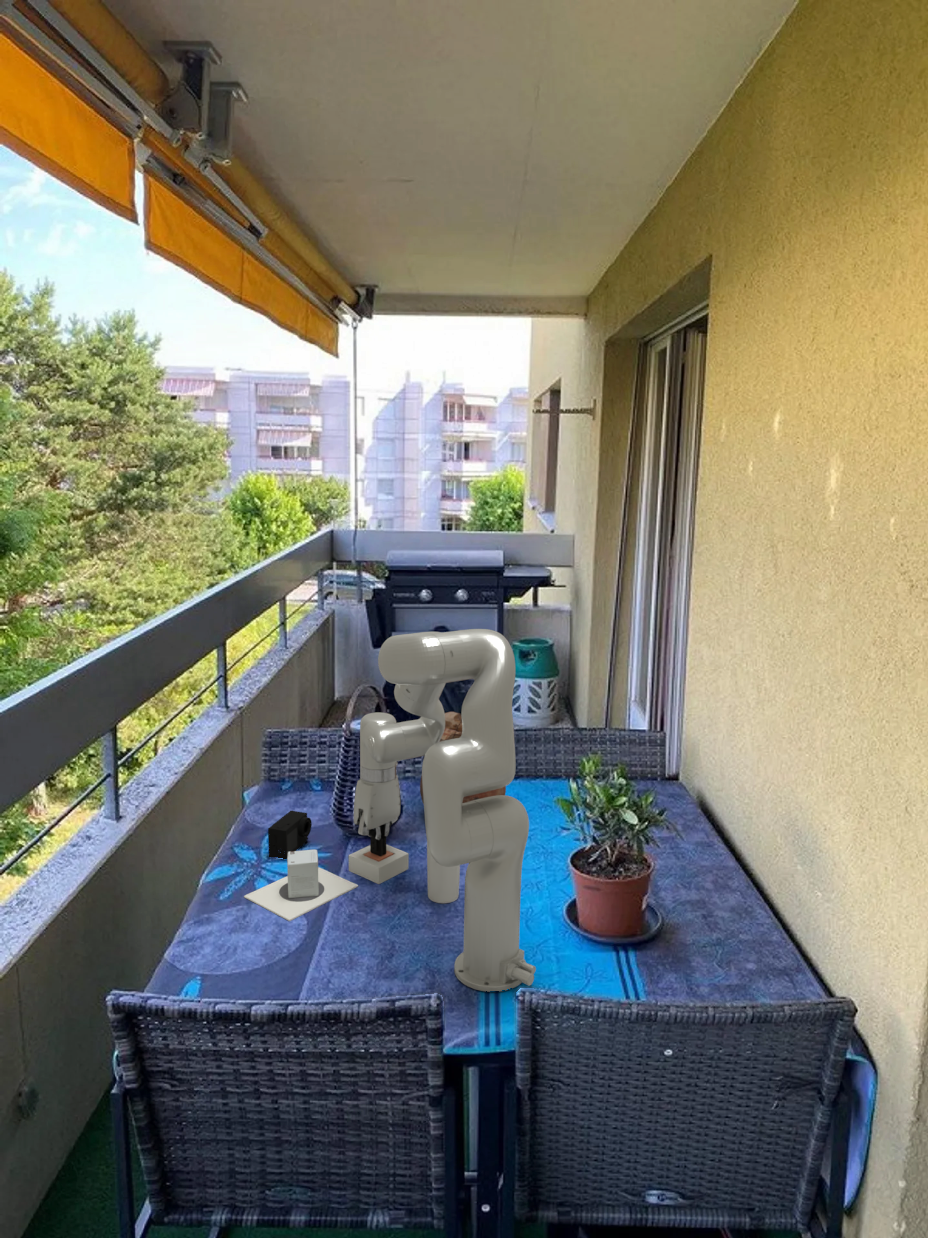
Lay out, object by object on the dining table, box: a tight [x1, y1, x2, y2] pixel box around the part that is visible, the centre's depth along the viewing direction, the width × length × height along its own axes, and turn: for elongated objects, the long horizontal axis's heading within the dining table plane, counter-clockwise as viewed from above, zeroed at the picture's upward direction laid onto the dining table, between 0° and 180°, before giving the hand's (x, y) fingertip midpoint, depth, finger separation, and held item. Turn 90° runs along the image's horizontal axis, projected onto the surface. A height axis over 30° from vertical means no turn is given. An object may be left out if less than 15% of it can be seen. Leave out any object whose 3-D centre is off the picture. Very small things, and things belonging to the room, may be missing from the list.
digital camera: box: [267, 810, 313, 859], centre depth 197 cm, size 10×5×7 cm, turn 163°
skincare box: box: [286, 849, 319, 898], centre depth 178 cm, size 6×6×7 cm
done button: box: [364, 850, 393, 862], centre depth 188 cm, size 4×4×2 cm
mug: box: [426, 842, 461, 904], centre depth 178 cm, size 10×7×12 cm, turn 167°
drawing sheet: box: [243, 866, 359, 922], centre depth 179 cm, size 14×18×1 cm
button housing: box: [348, 843, 410, 885], centre depth 188 cm, size 9×9×4 cm
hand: (378, 853), depth 188 cm, fingers closed
